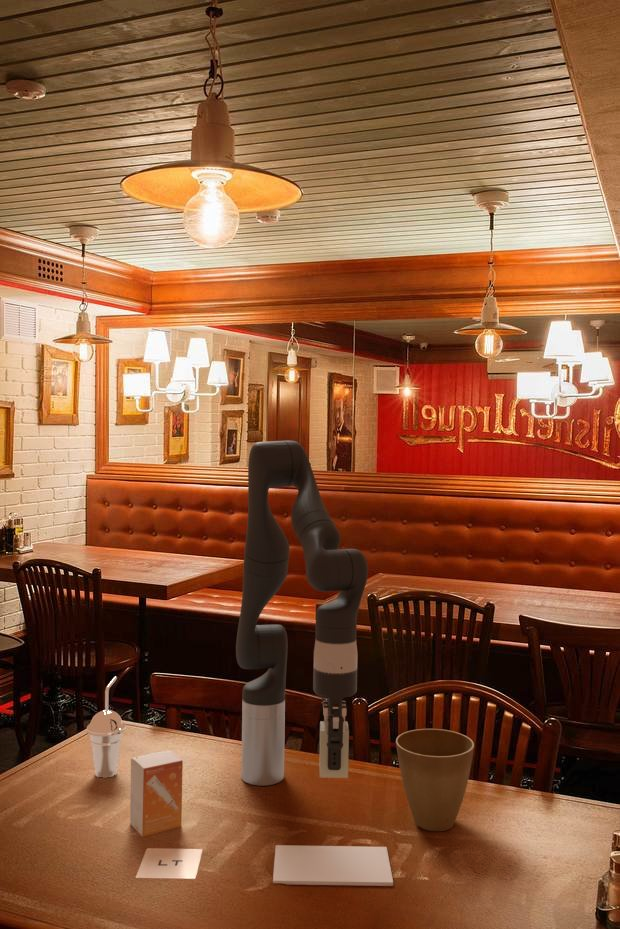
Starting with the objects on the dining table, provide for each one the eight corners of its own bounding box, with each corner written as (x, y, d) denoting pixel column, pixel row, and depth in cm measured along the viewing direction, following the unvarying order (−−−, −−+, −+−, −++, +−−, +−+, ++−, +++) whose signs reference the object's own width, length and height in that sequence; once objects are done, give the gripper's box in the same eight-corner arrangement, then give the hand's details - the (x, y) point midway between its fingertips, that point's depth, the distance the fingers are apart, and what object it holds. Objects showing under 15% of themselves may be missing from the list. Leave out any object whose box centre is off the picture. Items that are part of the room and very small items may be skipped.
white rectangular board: (275, 848, 152) (275, 845, 152) (386, 850, 152) (386, 846, 152) (272, 884, 140) (272, 880, 140) (393, 885, 140) (393, 882, 140)
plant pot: (453, 802, 172) (455, 725, 172) (485, 837, 158) (487, 752, 157) (383, 809, 169) (385, 730, 168) (410, 845, 154) (412, 758, 154)
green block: (319, 766, 148) (320, 721, 148) (346, 766, 148) (347, 721, 148) (319, 777, 143) (320, 730, 143) (348, 777, 143) (348, 731, 143)
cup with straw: (77, 775, 183) (77, 684, 182) (109, 762, 190) (109, 674, 190) (104, 785, 178) (104, 691, 177) (135, 771, 185) (136, 681, 185)
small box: (142, 838, 155) (142, 768, 155) (129, 824, 161) (130, 757, 160) (182, 827, 160) (183, 759, 159) (168, 814, 165) (169, 748, 165)
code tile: (146, 849, 151) (146, 848, 151) (202, 850, 151) (202, 849, 151) (135, 878, 141) (135, 877, 141) (195, 879, 141) (195, 878, 141)
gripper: (359, 677, 138) (357, 780, 139) (354, 654, 152) (353, 747, 153) (313, 677, 138) (312, 779, 139) (313, 653, 152) (311, 747, 153)
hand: (333, 762), depth 146 cm, fingers closed on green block, 4 cm apart
